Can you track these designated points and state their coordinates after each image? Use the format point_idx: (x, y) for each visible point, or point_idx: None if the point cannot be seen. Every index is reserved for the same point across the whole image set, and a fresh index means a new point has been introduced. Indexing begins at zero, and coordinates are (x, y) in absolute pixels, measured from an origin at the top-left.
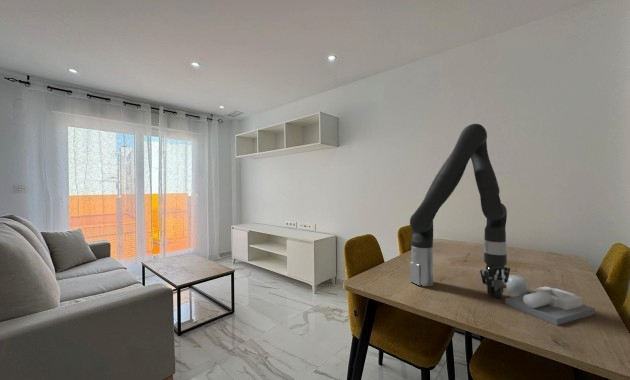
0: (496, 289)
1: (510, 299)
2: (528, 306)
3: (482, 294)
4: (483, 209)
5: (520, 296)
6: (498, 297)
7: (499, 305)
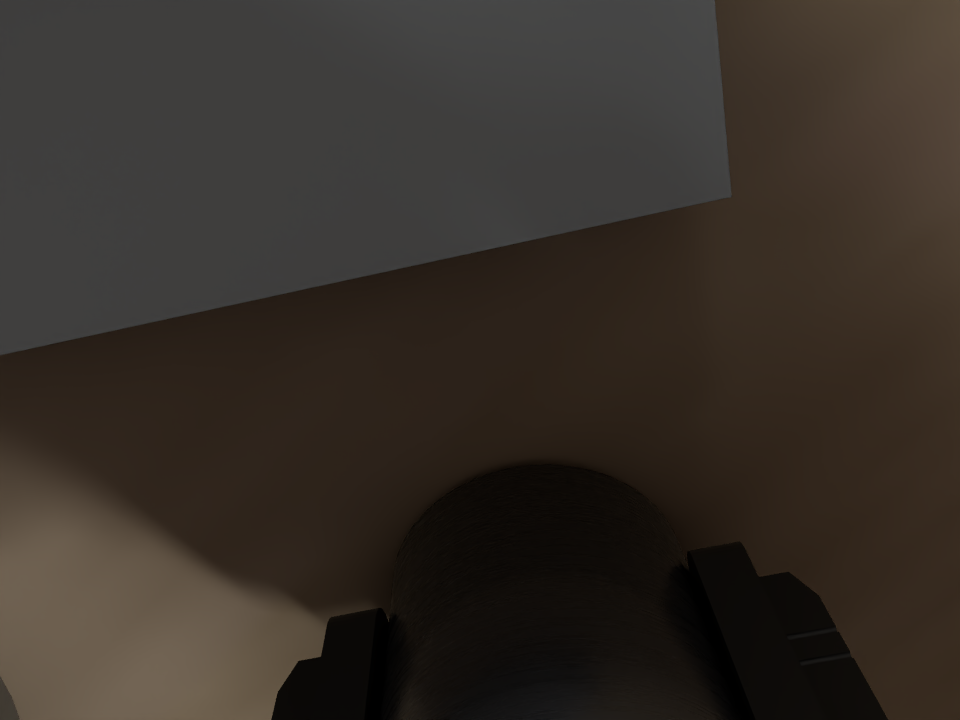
0: (682, 666)
1: (628, 92)
2: None
3: None
4: None
5: (32, 280)
6: (583, 482)
7: (956, 84)
